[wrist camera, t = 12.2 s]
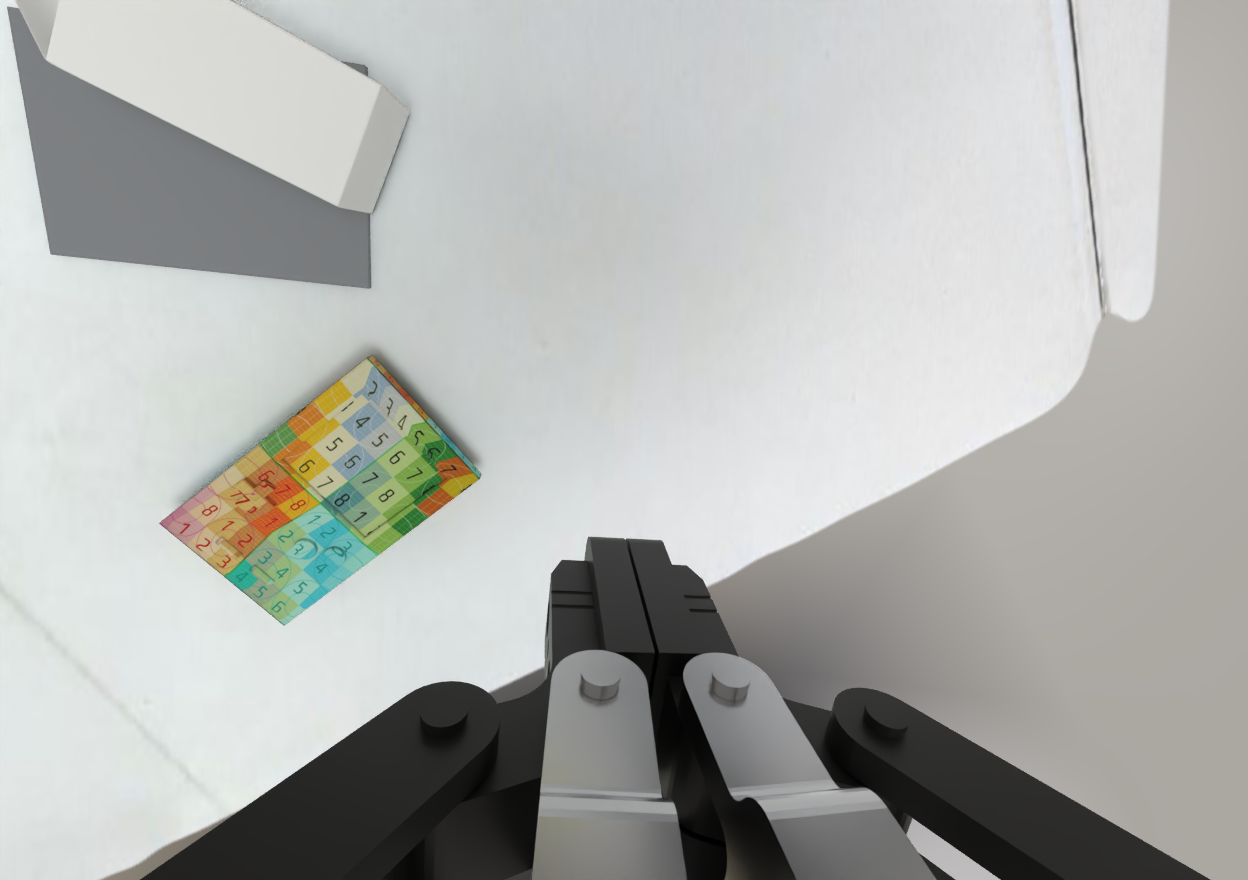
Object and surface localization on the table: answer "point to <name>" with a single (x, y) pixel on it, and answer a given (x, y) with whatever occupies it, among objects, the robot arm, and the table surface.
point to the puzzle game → (324, 493)
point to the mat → (171, 190)
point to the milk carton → (232, 87)
